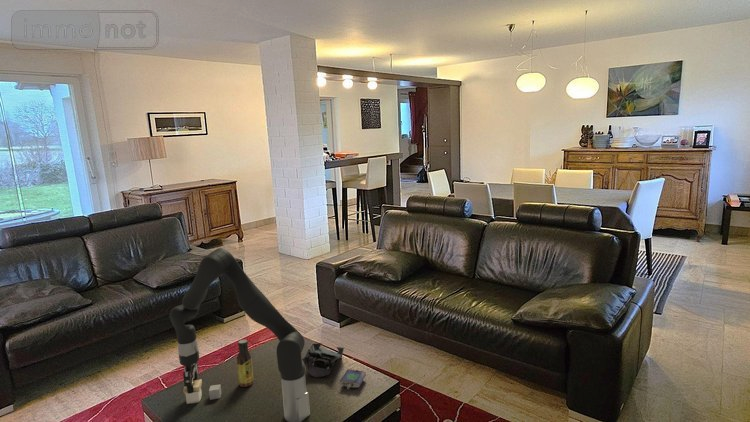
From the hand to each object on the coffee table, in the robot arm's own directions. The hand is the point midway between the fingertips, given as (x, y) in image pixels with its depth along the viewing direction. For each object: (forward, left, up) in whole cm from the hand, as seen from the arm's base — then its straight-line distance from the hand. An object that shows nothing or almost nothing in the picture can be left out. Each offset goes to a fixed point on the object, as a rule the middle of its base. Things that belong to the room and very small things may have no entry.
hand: (193, 387), depth 177 cm
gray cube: (-6, -6, -6) cm, 10 cm away
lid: (0, 0, -1) cm, 1 cm away
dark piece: (-31, -47, -6) cm, 56 cm away
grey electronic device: (-50, -46, -6) cm, 68 cm away
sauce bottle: (-10, -19, -6) cm, 22 cm away
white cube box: (0, 0, -6) cm, 6 cm away
